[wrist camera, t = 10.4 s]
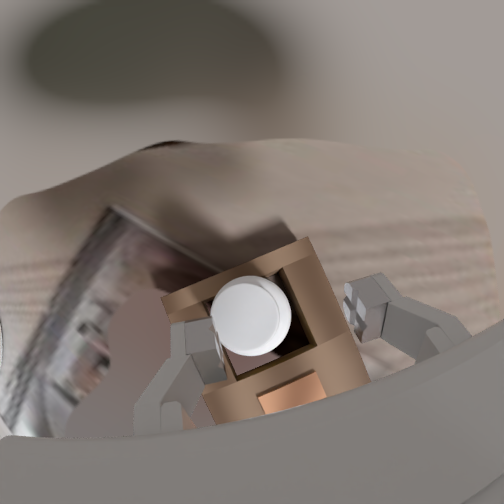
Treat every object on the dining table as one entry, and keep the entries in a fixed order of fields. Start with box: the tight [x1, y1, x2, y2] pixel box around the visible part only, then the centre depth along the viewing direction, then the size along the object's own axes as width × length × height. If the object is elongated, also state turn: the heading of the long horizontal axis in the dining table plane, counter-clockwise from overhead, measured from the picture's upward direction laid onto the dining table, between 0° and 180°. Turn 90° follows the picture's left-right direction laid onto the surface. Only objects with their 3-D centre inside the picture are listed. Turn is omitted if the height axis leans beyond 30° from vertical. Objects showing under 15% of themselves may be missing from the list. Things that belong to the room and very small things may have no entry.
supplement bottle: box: [210, 276, 291, 356], centre depth 23 cm, size 5×5×10 cm
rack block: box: [161, 237, 371, 425], centre depth 25 cm, size 13×17×3 cm
